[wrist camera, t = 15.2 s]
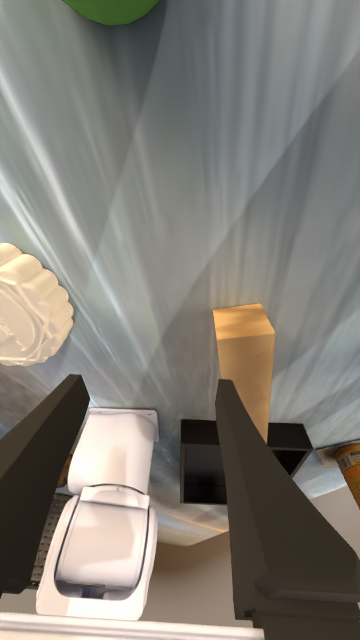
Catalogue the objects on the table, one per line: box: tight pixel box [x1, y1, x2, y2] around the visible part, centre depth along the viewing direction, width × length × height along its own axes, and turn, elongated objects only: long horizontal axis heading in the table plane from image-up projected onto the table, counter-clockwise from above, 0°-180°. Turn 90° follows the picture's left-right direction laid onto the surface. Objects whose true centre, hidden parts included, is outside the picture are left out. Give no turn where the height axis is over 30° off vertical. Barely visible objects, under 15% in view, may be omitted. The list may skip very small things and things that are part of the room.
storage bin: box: [26, 494, 105, 590], centre depth 52 cm, size 29×19×13 cm
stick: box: [213, 303, 275, 444], centre depth 24 cm, size 4×18×4 cm, turn 10°
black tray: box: [180, 420, 313, 506], centre depth 37 cm, size 17×23×3 cm
